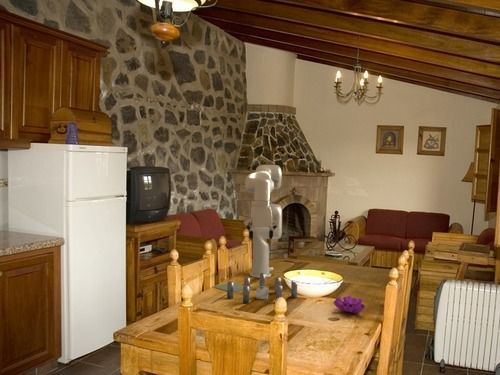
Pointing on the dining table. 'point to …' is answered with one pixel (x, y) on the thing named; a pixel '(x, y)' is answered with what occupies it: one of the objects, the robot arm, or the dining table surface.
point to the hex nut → (262, 292)
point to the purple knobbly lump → (349, 304)
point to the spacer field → (262, 283)
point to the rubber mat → (236, 287)
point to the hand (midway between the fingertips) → (261, 238)
